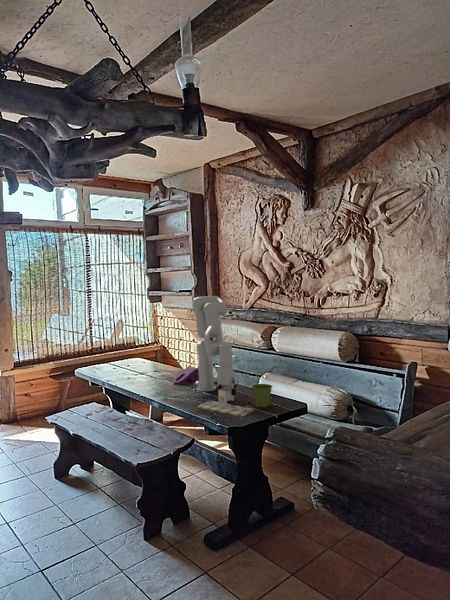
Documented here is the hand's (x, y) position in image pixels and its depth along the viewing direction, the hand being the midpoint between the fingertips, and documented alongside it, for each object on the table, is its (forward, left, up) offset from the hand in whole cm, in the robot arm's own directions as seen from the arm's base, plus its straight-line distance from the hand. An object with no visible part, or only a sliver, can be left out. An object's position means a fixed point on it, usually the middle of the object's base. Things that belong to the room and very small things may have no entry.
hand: (226, 394), depth 266 cm
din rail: (+7, -12, -5) cm, 15 cm away
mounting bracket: (-51, +23, -5) cm, 57 cm away
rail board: (+7, -12, -5) cm, 15 cm away
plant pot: (+21, +4, -5) cm, 22 cm away
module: (-1, 0, -5) cm, 5 cm away
